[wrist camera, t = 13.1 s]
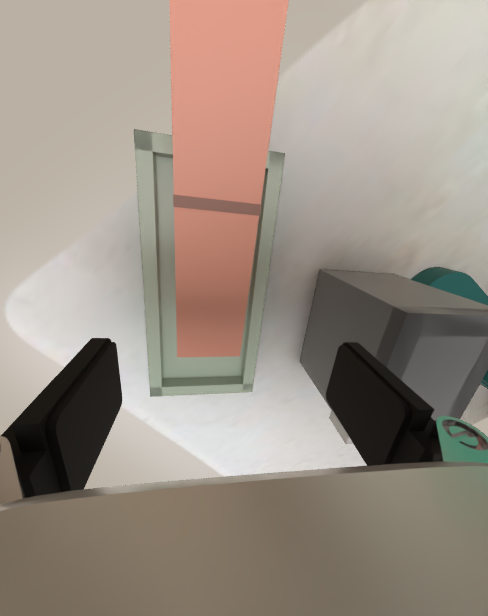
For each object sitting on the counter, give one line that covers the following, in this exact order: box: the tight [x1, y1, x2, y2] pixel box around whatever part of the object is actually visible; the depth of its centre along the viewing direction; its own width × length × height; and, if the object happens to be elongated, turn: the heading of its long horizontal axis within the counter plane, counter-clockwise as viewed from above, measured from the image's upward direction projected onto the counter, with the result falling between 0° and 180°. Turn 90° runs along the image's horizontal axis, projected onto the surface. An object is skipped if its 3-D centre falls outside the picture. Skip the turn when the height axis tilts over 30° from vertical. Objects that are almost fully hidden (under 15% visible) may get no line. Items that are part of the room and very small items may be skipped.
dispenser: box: [300, 269, 488, 444], centre depth 20 cm, size 11×8×10 cm
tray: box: [134, 129, 285, 397], centre depth 19 cm, size 9×20×2 cm, turn 174°
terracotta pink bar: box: [170, 0, 288, 357], centre depth 14 cm, size 4×16×6 cm, turn 175°
